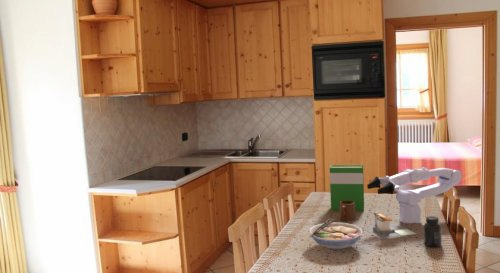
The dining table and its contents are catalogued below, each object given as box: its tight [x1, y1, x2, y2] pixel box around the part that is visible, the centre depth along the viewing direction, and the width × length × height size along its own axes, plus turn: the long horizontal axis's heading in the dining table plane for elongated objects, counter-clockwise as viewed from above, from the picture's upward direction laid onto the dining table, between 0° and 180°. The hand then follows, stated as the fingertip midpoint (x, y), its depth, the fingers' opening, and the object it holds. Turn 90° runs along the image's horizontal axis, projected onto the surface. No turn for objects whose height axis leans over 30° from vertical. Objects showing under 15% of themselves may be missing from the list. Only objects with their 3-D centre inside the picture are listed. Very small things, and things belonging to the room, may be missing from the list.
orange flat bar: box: [373, 211, 393, 222], centre depth 209 cm, size 3×13×1 cm, turn 15°
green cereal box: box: [329, 164, 365, 212], centre depth 249 cm, size 18×7×24 cm, turn 74°
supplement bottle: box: [423, 215, 443, 248], centre depth 190 cm, size 7×7×12 cm
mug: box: [339, 200, 356, 223], centre depth 228 cm, size 12×8×9 cm, turn 149°
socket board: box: [362, 215, 417, 241], centre depth 209 cm, size 18×18×7 cm
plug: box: [377, 217, 391, 231], centre depth 209 cm, size 4×4×6 cm
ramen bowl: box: [308, 218, 364, 251], centre depth 194 cm, size 25×23×8 cm
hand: (372, 189), depth 212 cm, fingers open, 7 cm apart
